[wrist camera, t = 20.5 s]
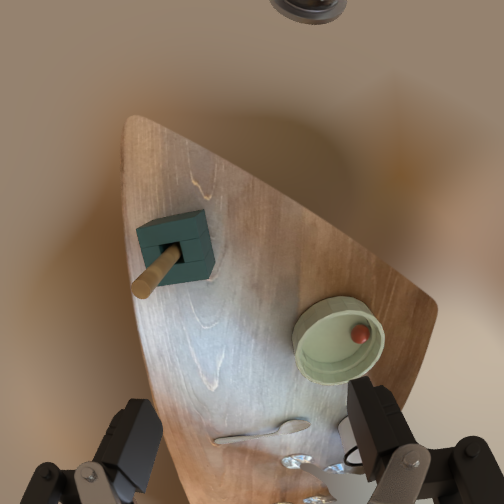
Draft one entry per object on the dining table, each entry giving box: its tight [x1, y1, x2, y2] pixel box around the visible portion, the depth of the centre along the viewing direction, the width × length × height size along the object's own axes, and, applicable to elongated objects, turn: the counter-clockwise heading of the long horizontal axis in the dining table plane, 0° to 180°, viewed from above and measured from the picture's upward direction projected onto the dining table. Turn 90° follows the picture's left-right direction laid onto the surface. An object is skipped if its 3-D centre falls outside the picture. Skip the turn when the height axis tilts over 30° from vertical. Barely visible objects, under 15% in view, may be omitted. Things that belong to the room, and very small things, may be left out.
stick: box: [131, 241, 182, 299], centre depth 31 cm, size 2×2×16 cm
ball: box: [351, 324, 370, 344], centre depth 40 cm, size 3×3×3 cm
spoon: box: [214, 420, 311, 444], centre depth 48 cm, size 4×21×2 cm, turn 113°
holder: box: [136, 209, 215, 286], centre depth 35 cm, size 7×7×6 cm
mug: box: [338, 417, 363, 467], centre depth 45 cm, size 12×10×9 cm
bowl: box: [292, 296, 385, 386], centre depth 40 cm, size 13×13×5 cm
